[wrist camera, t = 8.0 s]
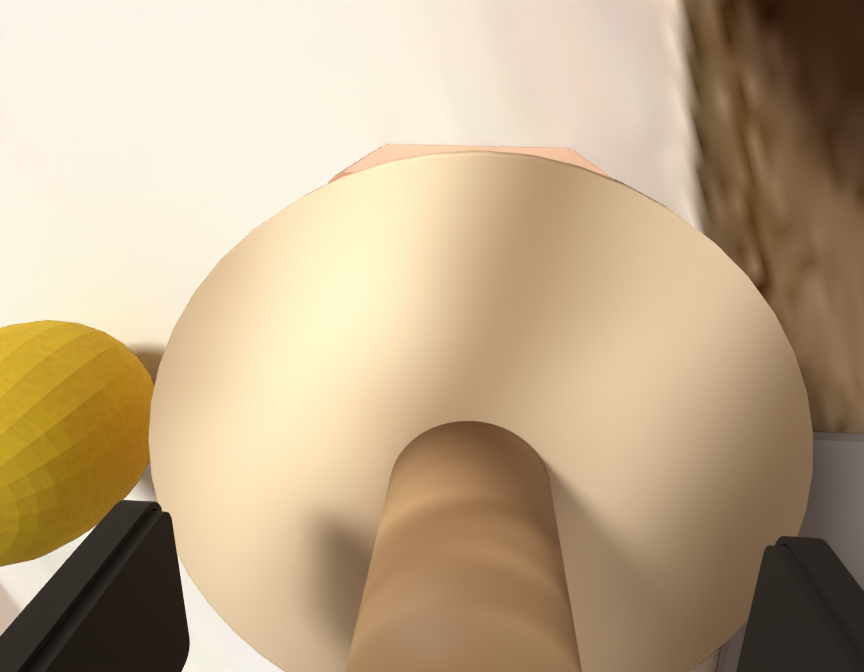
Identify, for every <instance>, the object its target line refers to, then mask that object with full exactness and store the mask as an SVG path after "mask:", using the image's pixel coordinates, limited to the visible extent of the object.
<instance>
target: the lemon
mask: <svg viewBox="0 0 864 672" xmlns="http://www.w3.org/2000/svg"><path fill="white" fill-rule="evenodd" d="M154 387H155V386H154V384H153V381H152V379H151V376H150V374H149V373H148V371H147V370H146V368H145V367H144V365H143V364H142V362H141V361H140V360H139V358H138V357H137V356H136V355H135V354H134V353H133V352H132V351H130V350H129V349H128V348H127V347H126V346H125V345H124V344H123V343H121V342H120V341H118V340H116V339H115V338H113V337H112V336H110V335H108V334H107V333H105V332H103V331H100V330H97V329H94V328H91V327H88V326H85V325H82V324H79V323H72V322H62V321H51V320H45V321H36V322H29V323H21V324H14V325H10V326H5V327H2V328H0V567H1V566H6V565H11V564H15V563H20V562H25V561H29V560H34V559H36V558H39V557H42V556H44V555H46V554H48V553H50V552H52V551H54V550H56V549H58V548H60V547H62V546H63V545H65V544H67V543H69V542H71V541H73V540H75V539H77V538H78V537H80V536H81V535H83V534H84V533H86V532H88V531H89V530H90V529H92V528H93V527H94V526H96V525H97V524H98V523H99V522H100V521H101V520H102V519H103V518H104V517H105V516H106V514H107V513H108V512H109V511H110V510H111V509H112V508H113V506H114V505H115V504H116V503H118V502H119V501H122V500H123V499H124V498H125V497H126V496H127V495H128V494H129V493H130V492H131V490H132V489H133V488H134V487H135V485H136V484H137V482H138V481H139V479H140V478H141V476H142V474H143V472H144V470H145V468H146V466H147V464H148V462H149V460H150V451H149V425H150V410H151V400H152V396H153V391H154Z"/></svg>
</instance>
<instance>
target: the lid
mask: <svg viewBox="0 0 864 672" xmlns="http://www.w3.org/2000/svg"><path fill="white" fill-rule="evenodd" d="M149 451H150V464H151V476H152V480H153V485H154V489H155V494H156V498H157V502H158V503H159V505H160V506H161V508H162V511H164V512H169V513H170V515H171V518H172V523H173V530H174V537H175V544H176V550H177V554H178V556H179V558H180V560H181V562H182V564H183V566H184V567H185V569H186V571H187V573H188V575H189V577H190V578H191V579H192V581H193V582H194V584H195V585H196V586H197V588H198V589H199V591H200V592H201V593H202V595H203V596H204V598H205V599H206V600H207V602H208V603H209V605H210V606H211V607H212V608H213V609H214V610H215V611H216V612H217V614H218V615H219V616H220V617H221V618H222V619H223V620H224V621H225V622H226V623H227V625H228V626H229V627H230V628H231V629H232V630H233V631H234V632H235V633H236V634H237V635H238V636H240V637H241V638H242V639H243V640H244V641H245V642H246V643H248V644H249V645H250V646H251V647H252V648H253V649H254V650H256V651H257V652H258V653H259V654H260V655H262V656H263V657H264V658H266V659H267V660H269V661H270V662H271V663H273V664H274V665H276V666H277V667H279V668H280V669H281V670H283V671H284V672H688V671H690V670H691V669H693V668H694V667H696V666H697V665H699V664H700V663H702V662H703V661H704V660H705V659H707V658H708V657H709V656H710V655H711V654H712V653H714V652H715V651H716V650H717V649H718V648H719V647H721V646H722V645H723V644H724V643H725V642H726V641H728V640H729V639H730V638H731V637H732V636H733V635H734V634H735V633H736V632H737V630H738V629H739V628H740V627H741V626H742V625H743V624H744V623H745V622H746V621H747V620H748V618H749V613H750V609H751V605H752V600H753V596H754V592H755V587H756V583H757V579H758V574H759V570H760V566H761V561H762V557H763V553H764V550H765V548H766V547H767V546H768V545H775V544H776V541H777V540H778V539H779V537H782V536H793V537H797V536H798V533H799V530H800V527H801V524H802V521H803V518H804V515H805V512H806V508H807V502H808V496H809V490H810V484H811V478H812V472H813V429H812V422H811V416H810V409H809V402H808V395H807V391H806V388H805V384H804V381H803V378H802V375H801V372H800V369H799V366H798V362H797V359H796V356H795V353H794V351H793V349H792V347H791V345H790V343H789V341H788V339H787V337H786V335H785V333H784V331H783V329H782V327H781V325H780V323H779V321H778V319H777V317H776V315H775V313H774V312H773V311H772V309H771V308H770V306H769V305H768V304H767V302H766V301H765V299H764V298H763V297H762V295H761V294H760V293H759V291H758V290H757V288H756V287H755V286H754V284H753V283H752V281H751V280H750V279H749V277H748V276H747V275H746V274H745V273H744V272H743V271H742V270H741V269H740V268H739V267H738V266H737V265H736V264H735V263H734V262H733V261H732V260H731V259H730V258H729V257H728V256H727V255H726V254H725V253H724V252H723V251H722V250H721V249H720V248H719V247H718V246H717V245H716V244H715V243H714V242H713V241H711V240H710V239H709V238H707V237H706V236H705V235H703V234H702V233H701V232H700V231H698V230H697V229H696V228H694V227H693V226H692V225H690V224H689V223H688V222H686V221H685V220H684V219H682V218H681V217H680V216H678V215H677V214H676V213H674V212H673V211H671V210H670V209H668V208H667V207H665V206H664V205H662V204H660V203H659V202H657V201H655V200H653V199H651V198H650V197H648V196H646V195H644V194H642V193H640V192H639V191H637V190H635V189H633V188H631V187H629V186H628V185H626V184H624V183H622V182H620V181H618V180H615V179H612V178H610V177H607V176H604V175H602V174H599V173H596V172H594V171H591V170H588V169H586V168H583V167H581V166H578V165H574V164H570V163H566V162H561V161H557V160H552V159H548V158H544V157H539V156H535V155H531V154H520V153H509V152H498V151H486V150H476V151H454V152H434V153H429V154H424V155H418V156H413V157H407V158H402V159H396V160H391V161H387V162H384V163H381V164H378V165H375V166H372V167H369V168H366V169H363V170H360V171H357V172H354V173H351V174H348V175H345V176H343V177H341V178H339V179H337V180H335V181H333V182H331V183H329V184H327V185H325V186H323V187H320V188H318V189H316V190H314V191H312V192H310V193H308V194H306V195H305V196H303V197H301V198H300V199H298V200H297V201H295V202H293V203H292V204H290V205H289V206H287V207H286V208H285V209H283V210H282V211H280V212H279V213H277V214H276V215H274V216H273V217H271V218H270V219H268V220H267V221H265V222H264V223H263V224H261V225H260V226H258V227H257V228H255V229H254V230H253V231H251V232H250V233H249V234H248V235H247V236H246V237H245V238H244V239H243V240H242V241H241V242H240V243H238V244H237V245H236V246H235V247H234V248H233V249H232V250H231V251H230V252H229V253H228V254H227V255H225V256H224V257H223V258H222V259H221V260H220V261H219V263H218V264H217V265H216V266H215V268H214V269H213V270H212V271H211V273H210V274H209V275H208V276H207V278H206V279H205V280H204V281H203V283H202V284H201V285H200V286H199V288H198V289H197V290H196V291H195V293H194V294H193V296H192V298H191V299H190V301H189V303H188V304H187V306H186V308H185V310H184V311H183V313H182V315H181V316H180V318H179V320H178V322H177V323H176V325H175V327H174V329H173V331H172V334H171V336H170V339H169V342H168V344H167V347H166V349H165V352H164V354H163V357H162V359H161V362H160V365H159V369H158V373H157V378H156V382H155V387H154V391H153V396H152V400H151V410H150V425H149Z"/></svg>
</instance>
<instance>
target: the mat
mask: <svg viewBox="0 0 864 672" xmlns="http://www.w3.org/2000/svg"><path fill="white" fill-rule="evenodd" d="M797 537H811V538H821V539H824V540H825V541H826V542H827V543H828V544H829V546H830V547H831V548H832V550H833V551H834V552H835V554H836V555H837V556H838V558H839V559H840V560H841V562H842V563H843V564H844V566H845V567H846V568H847V570H848V571H849V572H850V574H851V575H852V576H853V578H854V579H855V580H856V582H857V583H858V584H859V586H860V587H861V588H862V590H863V591H864V434H849V433H827V432H813V472H812V478H811V484H810V490H809V496H808V502H807V508H806V512H805V515H804V518H803V521H802V524H801V527H800V530H799V533H798V536H797ZM747 622H748V620H747V621H746V622H745V623H744V624H743V625H742V626H741V627H740V628H739V629H738V630H737V632H736V633H735V634H734V635H733V636H732V637H731V638H730V639H729V640H728V641H726V642H725V643H724V644H723V645H722V646H721V650H720V655H719V660H718V664H717V669H716V672H736V670H737V665H738V661H739V657H740V652H741V648H742V644H743V639H744V635H745V631H746V626H747Z"/></svg>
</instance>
